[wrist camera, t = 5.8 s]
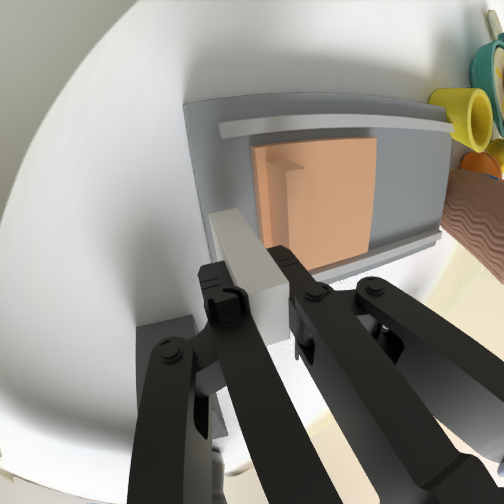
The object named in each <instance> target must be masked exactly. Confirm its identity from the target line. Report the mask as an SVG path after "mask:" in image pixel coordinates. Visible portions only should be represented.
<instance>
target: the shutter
mask: <svg viewBox="0 0 504 504" xmlns="http://www.w3.org/2000/svg"><path fill="white" fill-rule="evenodd" d="M250 150H251V159H252V169H253V178H254V188H255V198H256V207H257V217H258V227H259V237H260V241H261V242H262V244H263V245H264V247H265V248H266V249H267V248H270V247H274V246H278V245H282V246H284V247H286V248H288V249H290V250H291V251H292V252H293V254H294V255H295V256H296V257H297V258H298V260H299V261H300V263H302V265H303V266H304V267H305V268H306V269H307V270H311V269H314V268H317V267H321V266H324V265H328V264H331V263H334V262H337V261H341V260H344V259H347V258H351V257H354V256H357V255H360V254H363V253H367V252H368V246H369V238H370V230H371V222H372V212H373V202H374V189H375V174H376V150H377V138H373V137H370V136H360V137H336V138H320V139H307V140H296V141H287V142H278V143H270V144H262V145H255V146H250Z"/></svg>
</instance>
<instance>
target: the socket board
mask: <svg viewBox="0 0 504 504" xmlns="http://www.w3.org/2000/svg"><path fill="white" fill-rule="evenodd" d="M183 110H184V117H185V124H186V130H187V136H188V143H189V149H190V155H191V160H192V166H193V172H194V178H195V183H196V188H197V194H198V199H199V204H200V210H201V215H202V220H203V225H204V230H205V235H206V239H207V244H208V249H209V254H210V258H211V263H215V262H218V259H217V255H216V250H215V245H214V240H213V235H212V230H211V225H210V220H209V215H208V214H211V213H215V212H220V211H224V210H228V209H233V208H238V210H239V211H240V213H241V214H242V215H243V217H244V218H245V220H246V221H247V222H248V224H249V225H250V227H251V228H252V230H253V231H254V232H255V234H256V235H257V237H258V238H259V240H260V237H259V227H258V217H257V207H256V198H255V188H254V178H253V169H252V159H251V150H250V146H255V145H262V144H270V143H278V142H287V141H296V140H307V139H320V138H336V137H360V136H370V137H373V138H377V150H376V174H375V189H374V202H373V212H372V222H371V230H370V238H369V246H368V252H367V253H363V254H360V255H357V256H354V257H351V258H347V259H344V260H341V261H337V262H334V263H331V264H328V265H324V266H321V267H317V268H314V269H311V270H307V271H308V272H309V273H310V274H311V275H312V277H313V278H314V279H315V280H316V281H317V282H323V283H326V284H331V283H334V282H337V281H340V280H343V279H346V278H348V277H351V276H354V275H357V274H360V273H363V272H366V271H368V270H371V269H374V268H377V267H380V266H382V265H385V264H388V263H390V262H393V261H396V260H398V259H401V258H404V257H406V256H409V255H412V254H414V253H417V252H419V251H422V250H424V249H427V248H429V247H432V246H434V245H435V243H436V240H439V239H441V235H442V231H440V230H439V227H440V222H441V217H442V212H443V207H444V202H445V196H446V189H447V183H448V175H449V167H450V158H451V146H452V136H451V134H450V132H451V133H455V131H454V127H453V124H452V123H448V122H447V121H446V108H444V107H440V106H435V105H431V104H426V103H420V102H415V101H409V100H403V99H396V98H389V97H381V96H371V95H361V94H347V93H321V92H295V93H270V94H255V95H244V96H234V97H226V98H218V99H211V100H205V101H199V102H193V103H187V104H184V105H183Z"/></svg>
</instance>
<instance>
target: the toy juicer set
mask: <svg viewBox="0 0 504 504" xmlns="http://www.w3.org/2000/svg"><path fill="white" fill-rule="evenodd" d="M487 18H488V21H489V25H490V27H491V30H492V33H493V37H494V41H493V42H491V43H489V44H487V45H485V46H483V47H482V48H480V49H479V50H478V51H477V53H476V55H475V58H474V60H473V61H472V63H471V67H470V79H471V85H472V88H444V89H437V90H435V91H434V92H433V93H432V95H431V97H430V101H429V104H431V105H435V106H440V107H444V108H446V121H447V122H448V123H452V124H453V127H454V131H455V133H451V132H450V134H451V136H452V139H454V140H456V141H458V142H460V143H462V144H464V145H465V146H467V147H469V148H471V149H473V150H474V151H471V152H469V153H468V154H466V155H465V156H464V158H463V159H462V162H461V165H460V169H466V170H470V171H474V172H477V173H480V174H485V175H486V174H488V175H491V176H494V177H497V178H499V179H502V173H504V139H502V138H504V33H503V31H502V28H501V25H500V22H499V19H498V17H497V14H496V12H495V10H489V11H488V13H487ZM493 121H494V122H495V124H496V127H497V129H498V131H499V134H500V135H501V137H502V138H498V139H495V140H494V141H492V142H490V139H491V136H492V129H493ZM489 142H490V143H489ZM485 149H486V150H485ZM484 150H485V152H483V151H484ZM486 176H487V175H486Z"/></svg>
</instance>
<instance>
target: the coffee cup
mask: <svg viewBox="0 0 504 504" xmlns="http://www.w3.org/2000/svg"><path fill="white" fill-rule="evenodd" d="M486 175H487V176H486ZM486 175H485V174H480V173H477V172H474V171H470V170H466V169H458V168H451V169H449V175H448V183H447V189H446V196H445V202H444V207H443V212H442V217H441V222H440V225H441V227H442V228H443V229H444V230H445V231H446V232H448V233H449V234H450V235H451V236H452V237H453V238H455V239H456V240H457V241H458V242H459V243H460V244H461V245H463V246H464V247H465V248H466V249H467V250H468V251H469V252H470V253H471V254H472V255H473V256H475V257H476V258H477V259H478V260H479V261H480V262H481V263H482V264H483V265H484V266H485V267H486V268H487V269H488V270H489V271H490V272H491V273H492V274H493V275H494V276H495V277H496V278H497V279H498V280H499V281H500V282H501V283H502V284H504V180H502V179H499V178H497V177H494V176H491V175H488V174H486Z"/></svg>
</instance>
